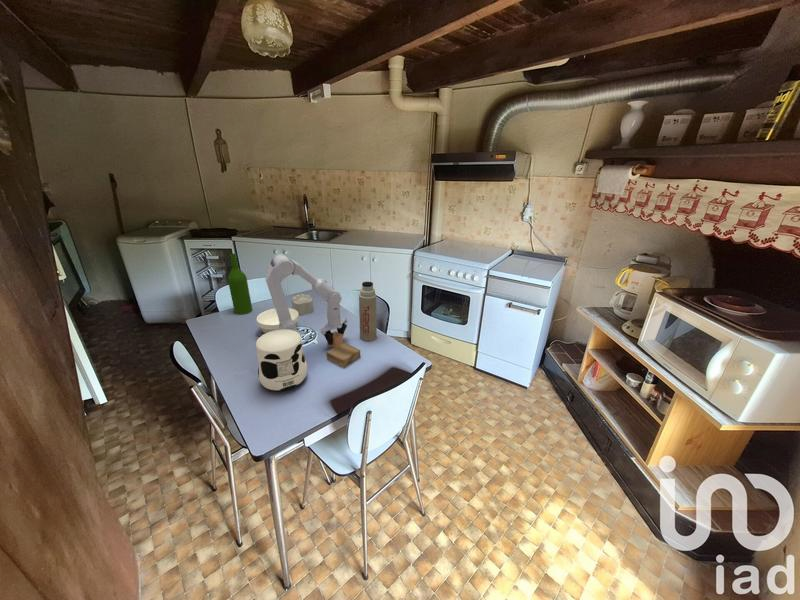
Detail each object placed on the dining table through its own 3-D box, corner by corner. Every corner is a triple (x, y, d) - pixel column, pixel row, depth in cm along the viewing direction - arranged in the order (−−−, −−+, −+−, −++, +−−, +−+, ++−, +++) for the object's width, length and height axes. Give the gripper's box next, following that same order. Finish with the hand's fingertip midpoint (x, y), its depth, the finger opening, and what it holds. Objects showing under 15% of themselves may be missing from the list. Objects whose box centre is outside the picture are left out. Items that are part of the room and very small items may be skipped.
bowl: (305, 324, 159) (304, 308, 156) (290, 343, 142) (288, 326, 139) (271, 321, 161) (268, 306, 158) (251, 339, 144) (248, 323, 140)
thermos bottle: (370, 343, 144) (370, 287, 133) (356, 338, 148) (355, 284, 136) (379, 335, 151) (379, 282, 140) (365, 331, 154) (365, 278, 143)
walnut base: (344, 368, 126) (343, 360, 125) (327, 360, 131) (326, 352, 130) (360, 357, 134) (360, 350, 132) (343, 350, 139) (343, 342, 137)
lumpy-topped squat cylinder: (296, 316, 167) (294, 302, 164) (290, 307, 177) (288, 293, 174) (315, 312, 172) (314, 298, 169) (308, 304, 182) (306, 290, 179)
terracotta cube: (335, 348, 139) (334, 338, 137) (327, 344, 142) (327, 335, 140) (343, 343, 143) (342, 334, 141) (335, 340, 146) (335, 331, 144)
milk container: (282, 362, 128) (276, 324, 121) (317, 372, 123) (313, 333, 116) (249, 387, 113) (241, 345, 106) (287, 400, 108) (281, 357, 101)
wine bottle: (255, 310, 172) (245, 253, 159) (240, 316, 165) (229, 257, 152) (246, 306, 176) (235, 251, 163) (231, 312, 169) (219, 254, 156)
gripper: (327, 323, 129) (329, 351, 134) (351, 311, 140) (352, 337, 145) (316, 319, 133) (318, 346, 138) (340, 307, 144) (341, 333, 149)
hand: (335, 341), depth 142 cm, fingers open, 6 cm apart
